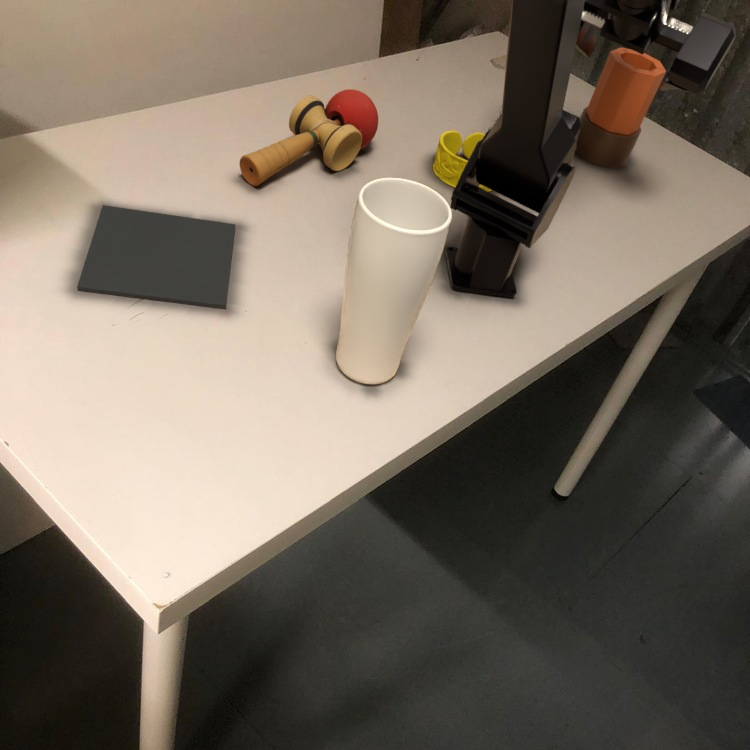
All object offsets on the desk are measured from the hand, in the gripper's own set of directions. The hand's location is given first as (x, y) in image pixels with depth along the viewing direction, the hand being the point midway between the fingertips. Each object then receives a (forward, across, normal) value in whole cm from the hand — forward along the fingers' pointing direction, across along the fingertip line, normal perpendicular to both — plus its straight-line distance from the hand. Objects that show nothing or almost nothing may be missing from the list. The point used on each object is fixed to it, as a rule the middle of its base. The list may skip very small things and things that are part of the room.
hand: (626, 69), depth 84 cm
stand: (+12, 0, +4) cm, 12 cm away
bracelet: (-2, +10, +18) cm, 21 cm away
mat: (-28, +23, +44) cm, 57 cm away
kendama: (-11, +23, +27) cm, 37 cm away
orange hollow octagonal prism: (+9, 0, +2) cm, 9 cm away
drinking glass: (-28, +2, +44) cm, 51 cm away
